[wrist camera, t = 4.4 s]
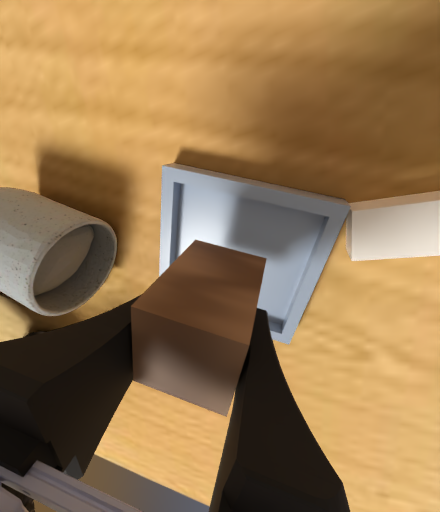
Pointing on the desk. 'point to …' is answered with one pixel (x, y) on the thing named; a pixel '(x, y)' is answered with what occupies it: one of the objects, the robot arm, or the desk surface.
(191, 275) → the walnut block
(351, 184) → the desk surface
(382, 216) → the bar
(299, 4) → the desk surface
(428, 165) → the desk surface
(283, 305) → the tray
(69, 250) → the ceramic mug
